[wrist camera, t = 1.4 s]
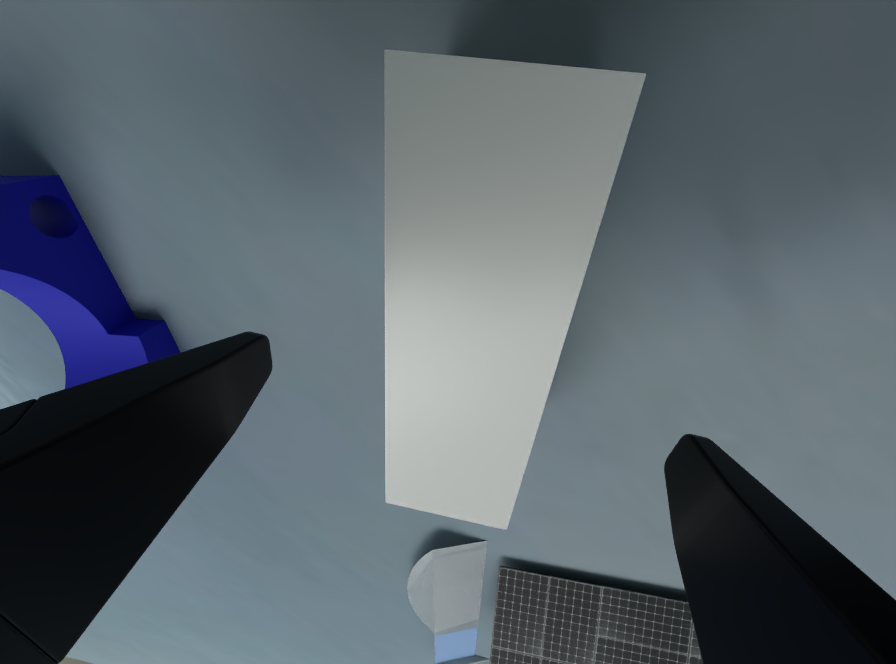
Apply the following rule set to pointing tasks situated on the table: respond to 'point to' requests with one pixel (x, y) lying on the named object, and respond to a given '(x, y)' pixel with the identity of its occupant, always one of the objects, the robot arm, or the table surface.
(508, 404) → the white rectangular block
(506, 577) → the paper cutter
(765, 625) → the robot arm
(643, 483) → the table surface
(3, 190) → the cable clip
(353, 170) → the table surface
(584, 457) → the table surface
